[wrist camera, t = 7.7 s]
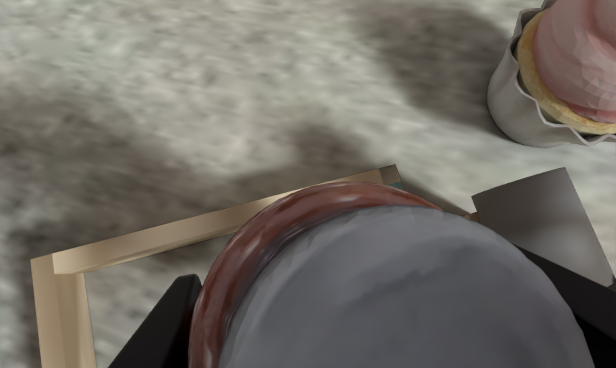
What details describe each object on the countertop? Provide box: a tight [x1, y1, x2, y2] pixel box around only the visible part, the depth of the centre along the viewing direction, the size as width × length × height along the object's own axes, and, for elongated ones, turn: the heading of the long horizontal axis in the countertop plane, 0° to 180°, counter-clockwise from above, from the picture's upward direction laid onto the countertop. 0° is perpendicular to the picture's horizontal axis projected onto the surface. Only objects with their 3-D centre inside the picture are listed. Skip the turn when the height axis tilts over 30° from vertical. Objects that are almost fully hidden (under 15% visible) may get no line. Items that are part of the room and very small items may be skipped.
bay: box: [30, 164, 405, 368], centre depth 19 cm, size 19×8×2 cm, turn 106°
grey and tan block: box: [462, 167, 616, 291], centre depth 17 cm, size 4×5×9 cm
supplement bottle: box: [187, 181, 595, 368], centre depth 9 cm, size 6×6×11 cm
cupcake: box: [487, 0, 616, 148], centre depth 19 cm, size 9×9×10 cm
